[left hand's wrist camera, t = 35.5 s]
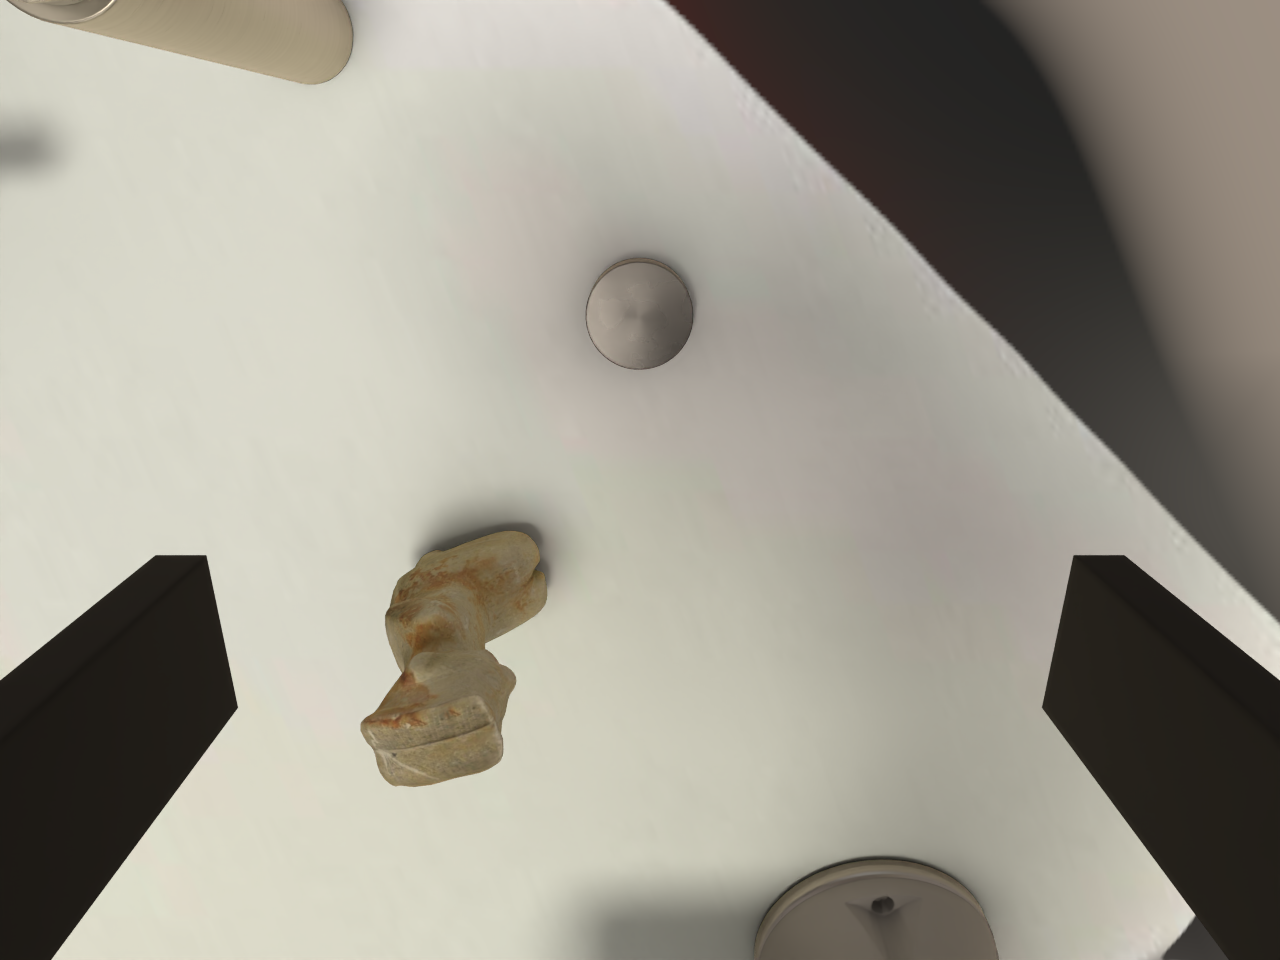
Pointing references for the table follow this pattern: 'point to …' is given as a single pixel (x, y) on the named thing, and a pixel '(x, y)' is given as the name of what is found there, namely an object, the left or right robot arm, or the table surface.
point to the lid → (639, 314)
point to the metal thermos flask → (220, 30)
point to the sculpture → (453, 659)
